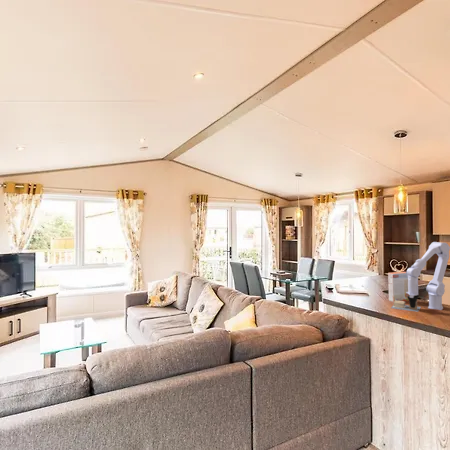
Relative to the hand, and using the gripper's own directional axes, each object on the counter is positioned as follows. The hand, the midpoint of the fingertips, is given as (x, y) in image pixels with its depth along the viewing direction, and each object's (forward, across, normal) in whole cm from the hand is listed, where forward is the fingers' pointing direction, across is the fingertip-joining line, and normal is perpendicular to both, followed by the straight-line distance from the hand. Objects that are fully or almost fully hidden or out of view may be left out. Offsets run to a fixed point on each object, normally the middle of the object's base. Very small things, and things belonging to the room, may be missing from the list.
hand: (413, 306), depth 219 cm
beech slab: (+1, -2, -8) cm, 9 cm away
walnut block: (+1, 0, 0) cm, 1 cm away
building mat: (+2, -1, -4) cm, 5 cm away
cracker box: (+2, -20, -12) cm, 23 cm away
